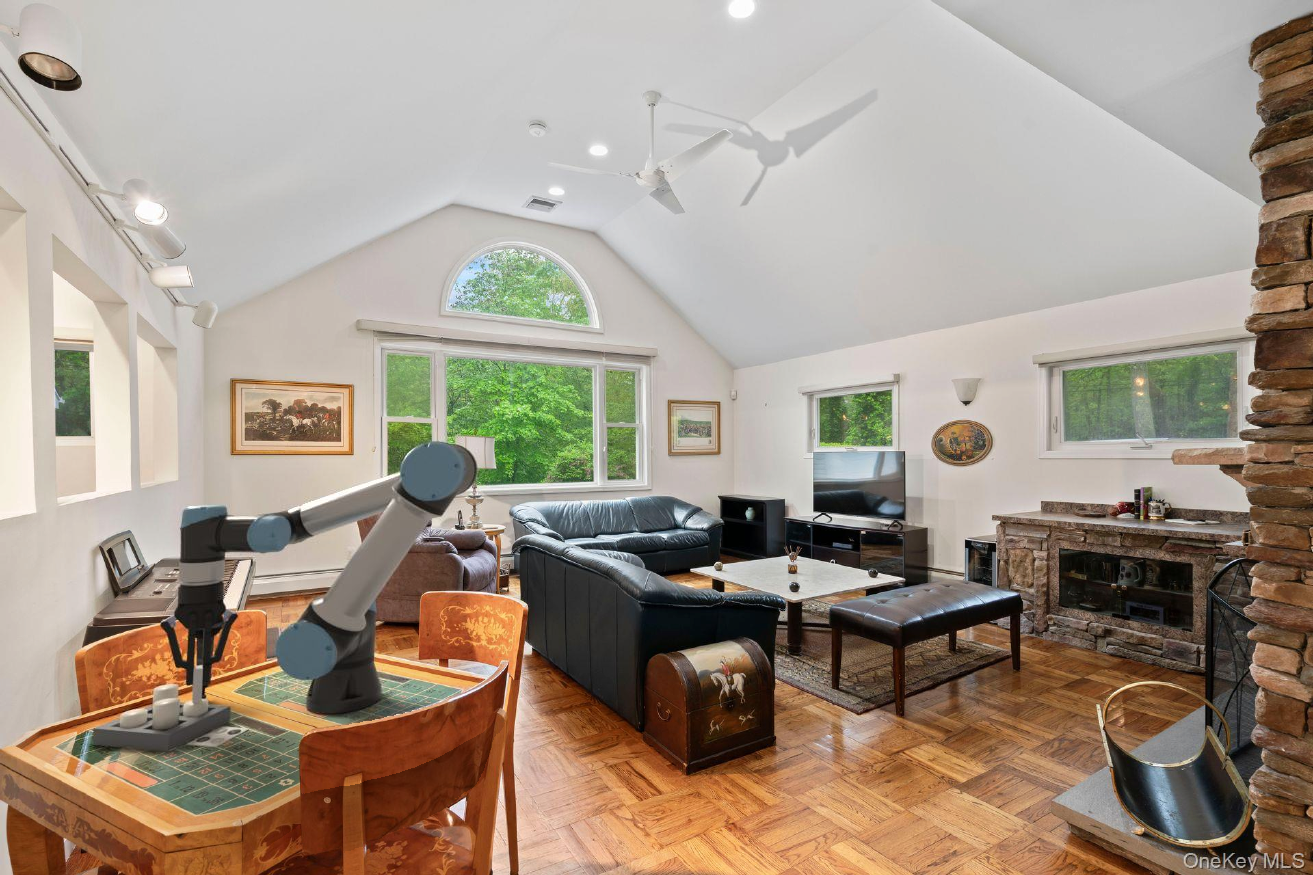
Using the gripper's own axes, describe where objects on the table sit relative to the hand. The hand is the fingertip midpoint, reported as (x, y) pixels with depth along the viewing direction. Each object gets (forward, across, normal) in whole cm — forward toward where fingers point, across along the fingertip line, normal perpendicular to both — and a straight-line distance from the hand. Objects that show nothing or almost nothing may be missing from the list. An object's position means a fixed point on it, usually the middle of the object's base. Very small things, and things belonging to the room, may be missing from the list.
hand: (196, 699), depth 126 cm
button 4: (+5, 0, 0) cm, 5 cm away
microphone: (+5, -1, -16) cm, 17 cm away
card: (+5, -4, +8) cm, 10 cm away
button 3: (+2, +5, +5) cm, 7 cm away
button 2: (+2, +5, -5) cm, 8 cm away
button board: (+5, +5, 0) cm, 7 cm away
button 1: (+5, +10, 0) cm, 11 cm away
